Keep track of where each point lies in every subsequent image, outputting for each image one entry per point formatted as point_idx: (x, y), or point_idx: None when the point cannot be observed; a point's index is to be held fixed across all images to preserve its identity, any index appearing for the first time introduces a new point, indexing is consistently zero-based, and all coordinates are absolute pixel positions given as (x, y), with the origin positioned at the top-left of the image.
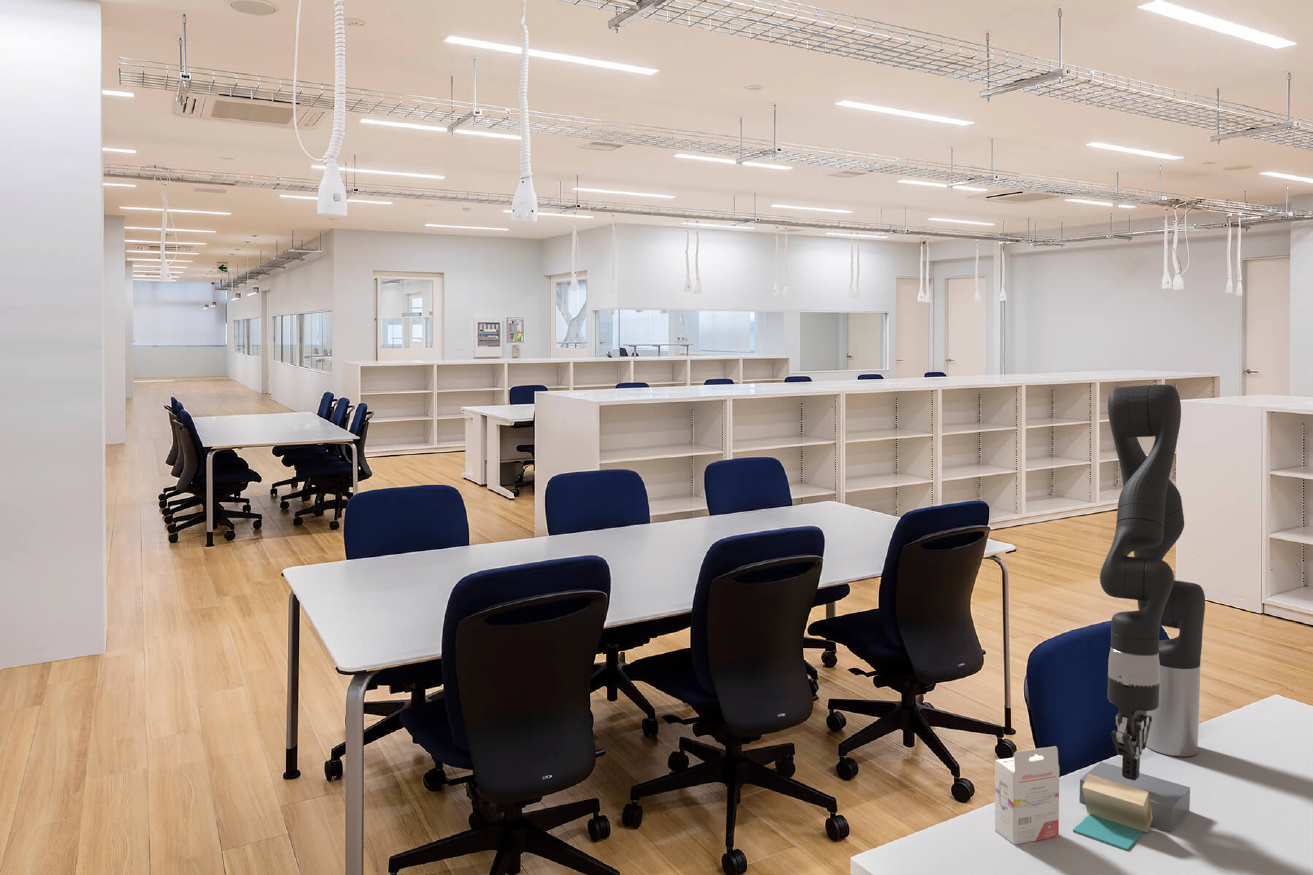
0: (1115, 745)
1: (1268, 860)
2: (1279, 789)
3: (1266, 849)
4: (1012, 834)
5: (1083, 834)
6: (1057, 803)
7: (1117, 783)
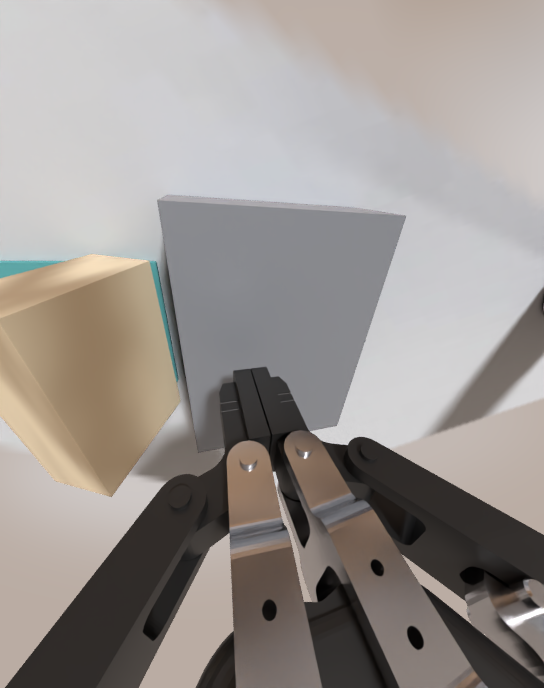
0: (54, 630)
1: None
2: (444, 418)
3: None
4: None
5: None
6: None
7: (68, 432)
